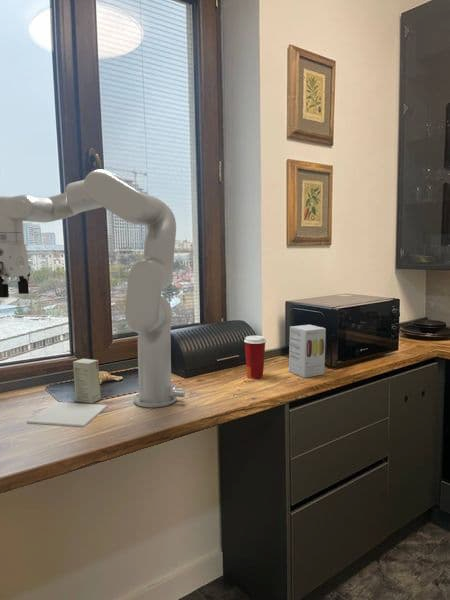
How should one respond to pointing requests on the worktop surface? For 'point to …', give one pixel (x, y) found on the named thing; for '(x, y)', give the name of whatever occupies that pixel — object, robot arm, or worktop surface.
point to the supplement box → (307, 350)
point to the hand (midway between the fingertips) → (13, 295)
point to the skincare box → (87, 380)
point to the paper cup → (255, 356)
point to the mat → (68, 414)
